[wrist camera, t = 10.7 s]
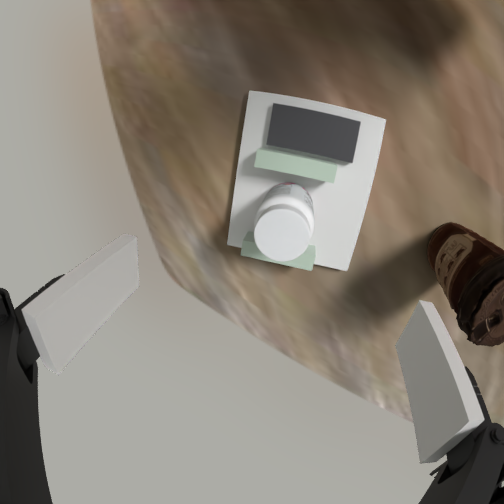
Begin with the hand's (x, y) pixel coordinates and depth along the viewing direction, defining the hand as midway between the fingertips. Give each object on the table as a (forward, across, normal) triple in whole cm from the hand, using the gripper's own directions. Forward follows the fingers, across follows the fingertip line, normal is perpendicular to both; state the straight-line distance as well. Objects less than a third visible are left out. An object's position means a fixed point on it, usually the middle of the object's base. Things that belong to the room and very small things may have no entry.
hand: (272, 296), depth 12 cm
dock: (+18, 0, +2) cm, 18 cm away
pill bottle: (+17, 0, -1) cm, 17 cm away
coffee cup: (+18, +18, -1) cm, 26 cm away
